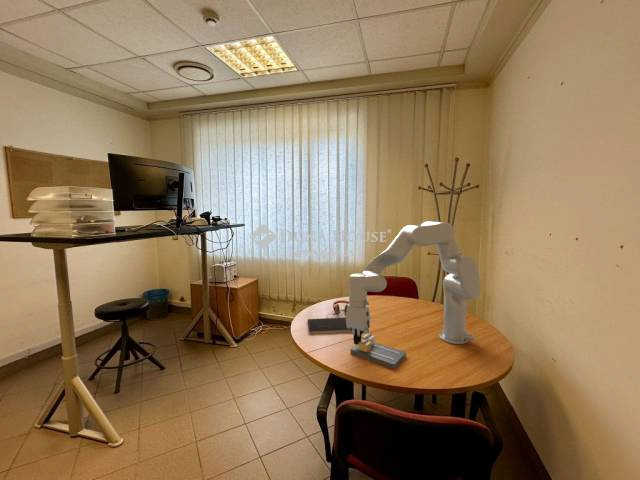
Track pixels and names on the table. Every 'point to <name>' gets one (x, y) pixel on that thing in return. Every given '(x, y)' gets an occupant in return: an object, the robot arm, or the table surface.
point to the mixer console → (381, 355)
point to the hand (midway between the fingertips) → (357, 343)
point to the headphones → (337, 309)
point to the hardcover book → (327, 325)
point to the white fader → (369, 338)
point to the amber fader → (364, 345)
